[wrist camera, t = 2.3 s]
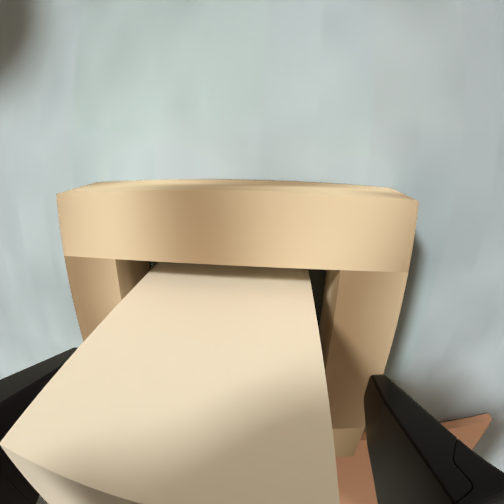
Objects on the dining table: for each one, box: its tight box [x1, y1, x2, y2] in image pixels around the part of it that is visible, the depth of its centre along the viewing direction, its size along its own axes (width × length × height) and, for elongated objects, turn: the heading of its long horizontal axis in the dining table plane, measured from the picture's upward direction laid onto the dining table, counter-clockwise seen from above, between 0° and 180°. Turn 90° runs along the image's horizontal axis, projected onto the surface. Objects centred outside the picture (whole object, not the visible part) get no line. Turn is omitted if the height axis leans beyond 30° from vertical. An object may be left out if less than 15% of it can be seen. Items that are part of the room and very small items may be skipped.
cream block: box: [0, 262, 340, 504], centre depth 8 cm, size 5×5×9 cm
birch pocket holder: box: [56, 179, 419, 457], centre depth 11 cm, size 10×10×2 cm
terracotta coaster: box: [335, 413, 492, 504], centre depth 15 cm, size 11×11×1 cm
